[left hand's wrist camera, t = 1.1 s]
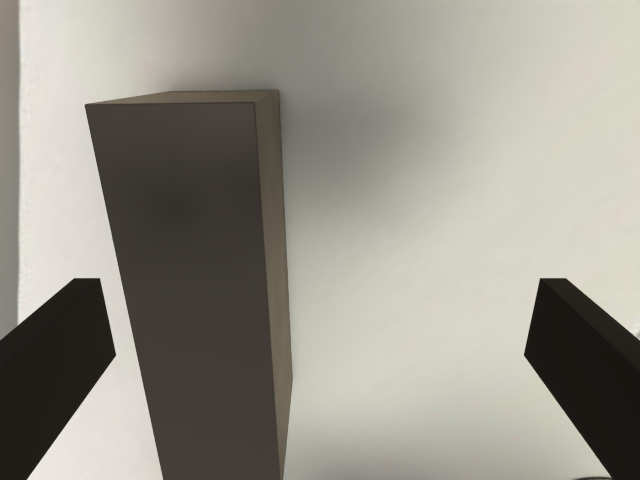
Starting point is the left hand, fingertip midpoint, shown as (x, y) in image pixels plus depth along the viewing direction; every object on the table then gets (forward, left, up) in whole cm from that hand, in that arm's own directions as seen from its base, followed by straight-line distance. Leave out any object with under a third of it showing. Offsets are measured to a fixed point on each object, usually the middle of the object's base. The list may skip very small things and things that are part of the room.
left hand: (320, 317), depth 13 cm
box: (+9, -5, -23) cm, 25 cm away
